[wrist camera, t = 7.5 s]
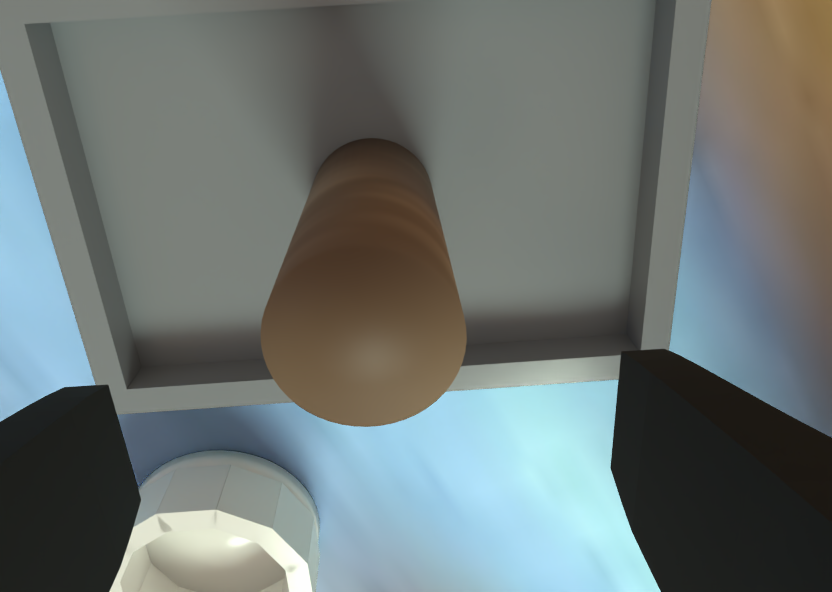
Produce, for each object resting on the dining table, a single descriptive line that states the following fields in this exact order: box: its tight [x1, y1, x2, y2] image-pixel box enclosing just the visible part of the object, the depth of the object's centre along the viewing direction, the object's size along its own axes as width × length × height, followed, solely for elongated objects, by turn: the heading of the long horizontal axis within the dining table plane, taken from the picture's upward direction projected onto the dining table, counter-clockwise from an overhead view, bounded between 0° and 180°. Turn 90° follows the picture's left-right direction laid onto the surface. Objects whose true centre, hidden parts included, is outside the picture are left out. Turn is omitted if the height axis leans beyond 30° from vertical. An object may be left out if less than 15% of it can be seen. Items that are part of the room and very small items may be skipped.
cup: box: [109, 450, 320, 592], centre depth 21 cm, size 6×6×3 cm
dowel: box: [261, 138, 467, 427], centre depth 14 cm, size 3×3×8 cm
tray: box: [0, 0, 711, 414], centre depth 17 cm, size 16×11×2 cm
